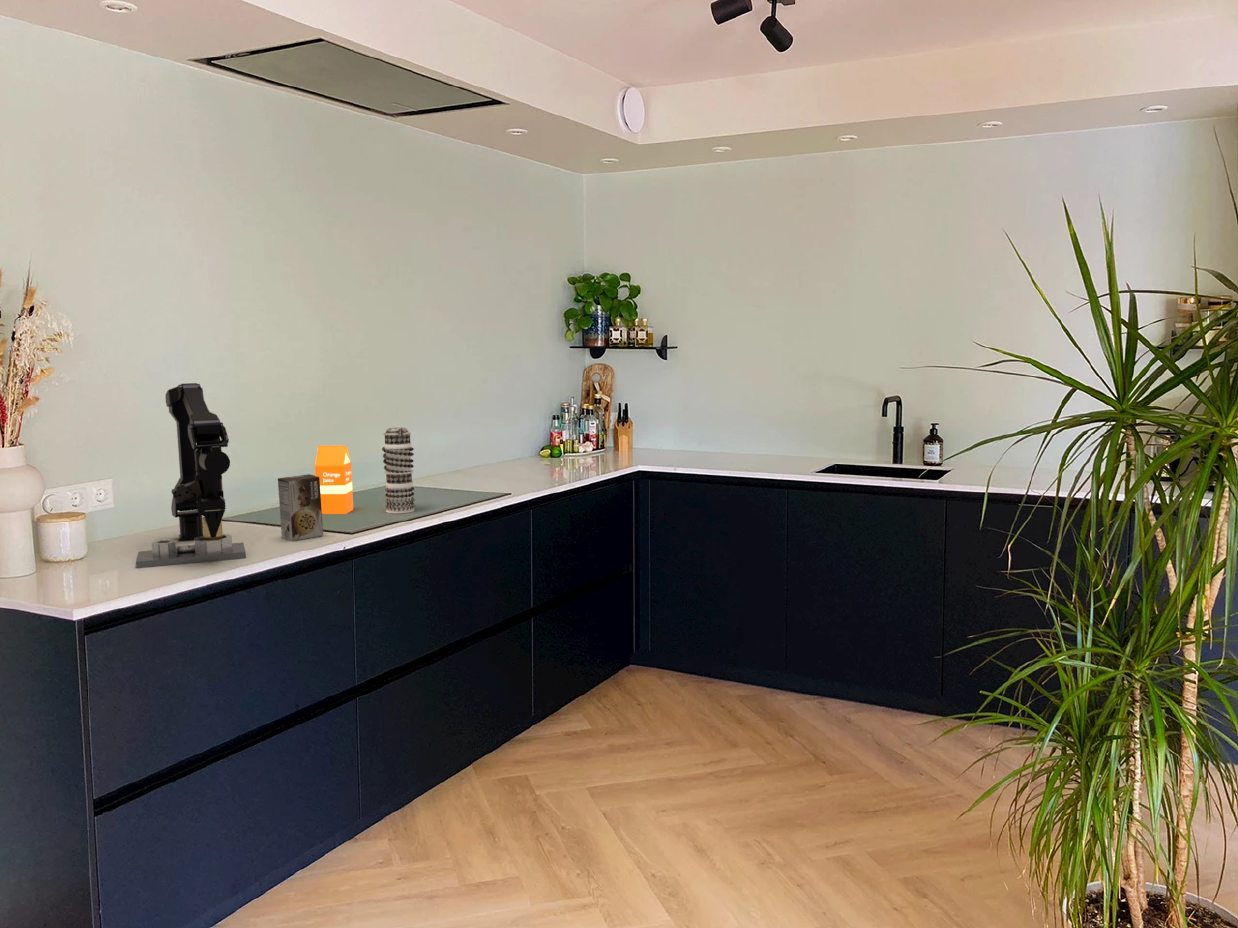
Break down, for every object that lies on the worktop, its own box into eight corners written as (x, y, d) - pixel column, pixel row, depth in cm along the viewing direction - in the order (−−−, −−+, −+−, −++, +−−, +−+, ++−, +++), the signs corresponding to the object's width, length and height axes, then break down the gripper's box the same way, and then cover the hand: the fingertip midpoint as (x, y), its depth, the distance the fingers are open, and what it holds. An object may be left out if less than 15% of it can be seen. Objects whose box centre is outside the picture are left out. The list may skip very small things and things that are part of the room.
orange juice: (346, 513, 303) (343, 447, 300) (316, 514, 303) (313, 447, 301) (353, 509, 311) (350, 444, 308) (325, 509, 311) (321, 444, 308)
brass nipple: (204, 548, 250) (202, 516, 249) (223, 546, 252) (221, 515, 251) (204, 552, 246) (202, 519, 245) (224, 550, 248) (221, 518, 247)
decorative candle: (404, 514, 301) (401, 430, 297) (378, 512, 304) (374, 429, 301) (422, 509, 309) (419, 427, 306) (396, 507, 313) (393, 426, 309)
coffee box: (312, 532, 276) (309, 473, 273) (324, 536, 271) (320, 476, 269) (280, 537, 269) (276, 477, 267) (291, 541, 265) (288, 480, 262)
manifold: (138, 557, 248) (137, 539, 247) (243, 548, 257) (242, 530, 256) (136, 567, 237) (135, 549, 236) (245, 557, 246) (244, 539, 246)
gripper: (172, 467, 252) (177, 529, 254) (171, 477, 235) (176, 544, 237) (221, 464, 256) (225, 525, 258) (223, 474, 239) (227, 539, 241)
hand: (212, 533), depth 248 cm, fingers open, 9 cm apart
